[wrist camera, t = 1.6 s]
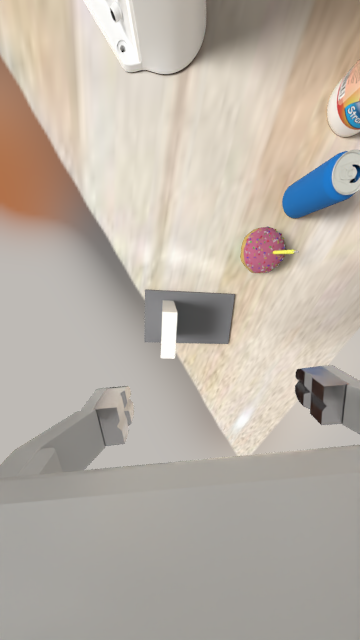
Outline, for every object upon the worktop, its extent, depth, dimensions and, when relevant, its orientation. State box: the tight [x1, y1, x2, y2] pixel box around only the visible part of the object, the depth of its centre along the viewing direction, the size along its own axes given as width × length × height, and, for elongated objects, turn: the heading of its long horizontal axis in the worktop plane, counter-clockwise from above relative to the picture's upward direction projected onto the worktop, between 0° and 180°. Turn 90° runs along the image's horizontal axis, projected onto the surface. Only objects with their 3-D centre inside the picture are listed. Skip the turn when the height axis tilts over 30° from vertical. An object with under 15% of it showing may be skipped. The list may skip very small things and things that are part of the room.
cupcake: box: [240, 227, 299, 273], centre depth 35 cm, size 9×8×12 cm
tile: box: [161, 300, 177, 358], centre depth 36 cm, size 2×8×12 cm, turn 177°
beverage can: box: [282, 150, 360, 218], centre depth 33 cm, size 6×6×12 cm
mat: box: [145, 290, 235, 344], centre depth 43 cm, size 20×12×1 cm, turn 87°
